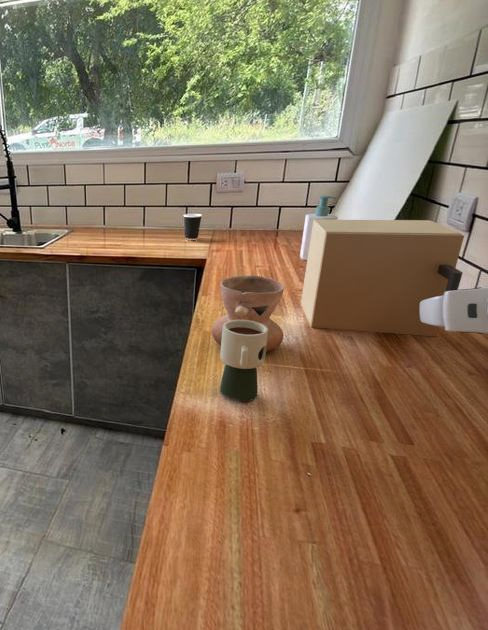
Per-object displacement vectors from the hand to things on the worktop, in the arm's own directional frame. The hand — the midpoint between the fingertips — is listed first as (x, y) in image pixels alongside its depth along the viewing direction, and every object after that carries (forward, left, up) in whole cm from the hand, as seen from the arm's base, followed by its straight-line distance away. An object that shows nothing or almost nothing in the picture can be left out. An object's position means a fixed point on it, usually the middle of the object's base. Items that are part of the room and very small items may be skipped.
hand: (482, 310), depth 78 cm
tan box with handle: (+10, -15, -12) cm, 22 cm away
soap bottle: (+11, -86, -13) cm, 87 cm away
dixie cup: (+56, -114, -13) cm, 127 cm away
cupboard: (+10, -27, -13) cm, 31 cm away
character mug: (+39, +17, -13) cm, 45 cm away
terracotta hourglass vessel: (+37, -5, -13) cm, 40 cm away
